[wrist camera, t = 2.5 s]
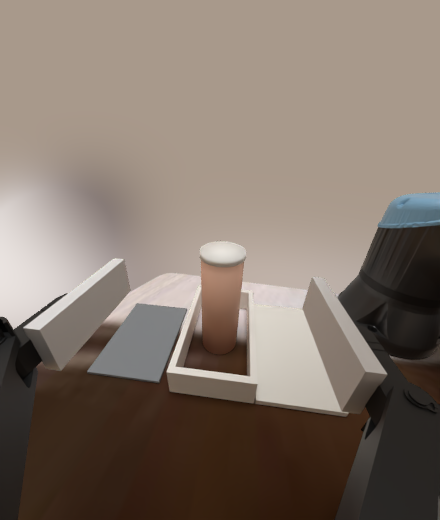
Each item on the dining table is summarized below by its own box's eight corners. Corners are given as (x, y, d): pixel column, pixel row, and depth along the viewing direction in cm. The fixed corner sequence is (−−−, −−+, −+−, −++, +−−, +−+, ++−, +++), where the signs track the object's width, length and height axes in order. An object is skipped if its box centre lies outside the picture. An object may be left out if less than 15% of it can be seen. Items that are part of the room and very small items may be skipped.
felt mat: (187, 310, 38) (186, 308, 38) (159, 383, 26) (158, 381, 26) (137, 304, 39) (137, 303, 39) (87, 373, 27) (87, 371, 27)
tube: (237, 328, 35) (246, 242, 27) (236, 357, 30) (246, 263, 22) (204, 324, 35) (204, 239, 28) (198, 353, 30) (194, 259, 23)
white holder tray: (306, 312, 39) (311, 296, 37) (346, 416, 23) (358, 397, 21) (198, 301, 41) (198, 285, 39) (169, 391, 25) (166, 372, 23)
